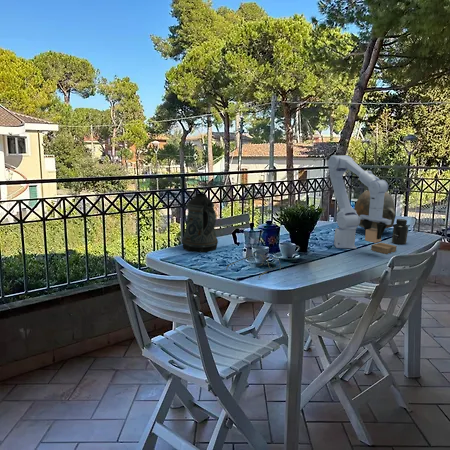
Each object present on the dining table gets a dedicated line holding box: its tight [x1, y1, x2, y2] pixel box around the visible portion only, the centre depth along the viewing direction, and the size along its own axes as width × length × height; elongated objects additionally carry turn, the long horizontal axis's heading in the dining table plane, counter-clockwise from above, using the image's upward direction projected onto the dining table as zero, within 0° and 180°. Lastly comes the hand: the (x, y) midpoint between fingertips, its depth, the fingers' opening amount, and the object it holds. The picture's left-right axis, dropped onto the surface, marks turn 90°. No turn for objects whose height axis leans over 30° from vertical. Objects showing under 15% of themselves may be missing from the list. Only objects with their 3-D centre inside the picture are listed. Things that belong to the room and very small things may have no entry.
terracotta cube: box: [364, 228, 382, 244], centre depth 190 cm, size 5×5×5 cm
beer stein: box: [181, 193, 219, 253], centre depth 193 cm, size 16×19×25 cm
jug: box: [353, 189, 397, 230], centre depth 233 cm, size 24×21×30 cm
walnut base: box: [370, 242, 397, 255], centre depth 198 cm, size 8×8×3 cm
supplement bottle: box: [391, 218, 409, 245], centre depth 213 cm, size 7×7×12 cm
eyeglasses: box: [226, 252, 282, 279], centre depth 165 cm, size 16×15×5 cm
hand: (373, 237), depth 191 cm, fingers closed on terracotta cube, 5 cm apart
